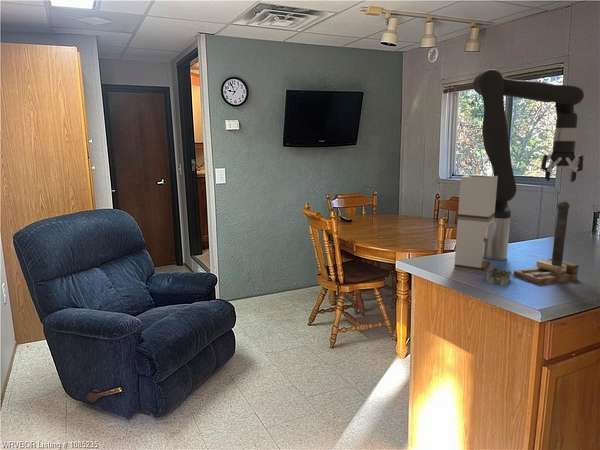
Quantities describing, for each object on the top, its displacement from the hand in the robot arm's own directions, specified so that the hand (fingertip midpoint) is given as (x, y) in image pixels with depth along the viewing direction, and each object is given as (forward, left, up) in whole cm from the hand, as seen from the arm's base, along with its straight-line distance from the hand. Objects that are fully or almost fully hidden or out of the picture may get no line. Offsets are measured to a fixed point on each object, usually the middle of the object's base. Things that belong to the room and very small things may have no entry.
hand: (559, 181), depth 179 cm
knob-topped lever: (-6, -27, -29) cm, 40 cm away
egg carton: (-24, -37, -33) cm, 55 cm away
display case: (-32, -24, -32) cm, 51 cm away
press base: (-8, -29, -32) cm, 44 cm away
